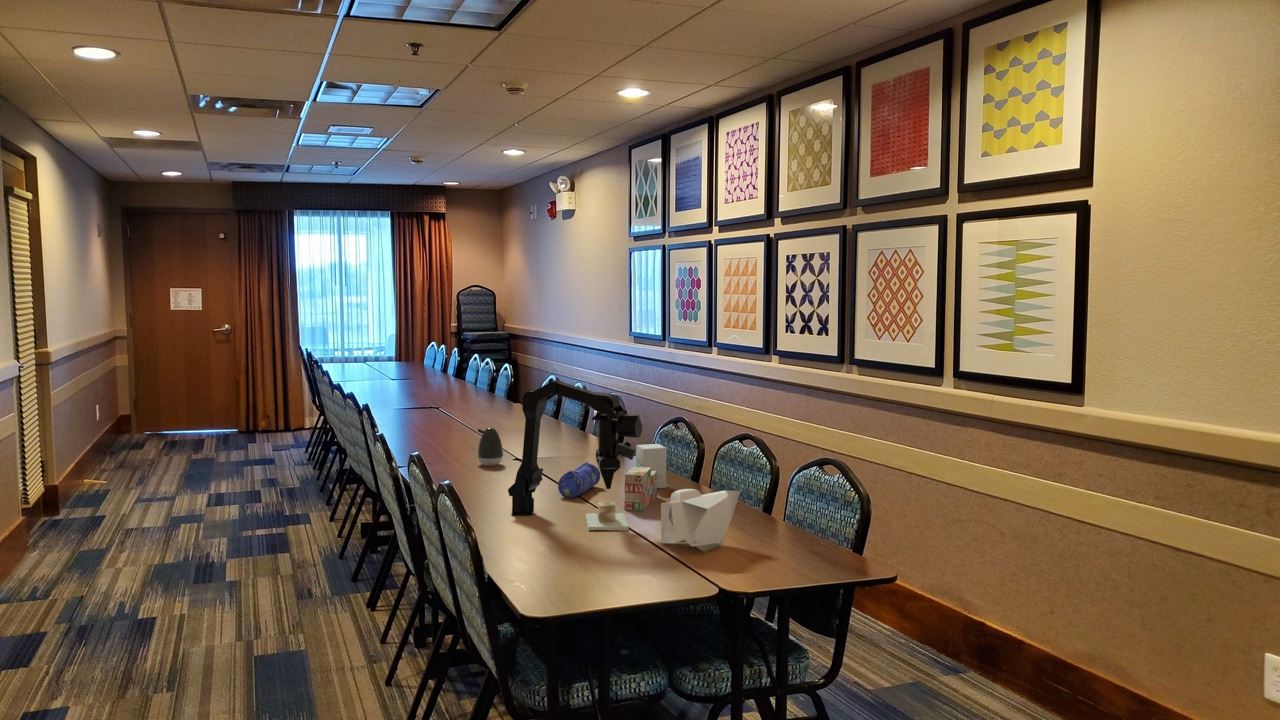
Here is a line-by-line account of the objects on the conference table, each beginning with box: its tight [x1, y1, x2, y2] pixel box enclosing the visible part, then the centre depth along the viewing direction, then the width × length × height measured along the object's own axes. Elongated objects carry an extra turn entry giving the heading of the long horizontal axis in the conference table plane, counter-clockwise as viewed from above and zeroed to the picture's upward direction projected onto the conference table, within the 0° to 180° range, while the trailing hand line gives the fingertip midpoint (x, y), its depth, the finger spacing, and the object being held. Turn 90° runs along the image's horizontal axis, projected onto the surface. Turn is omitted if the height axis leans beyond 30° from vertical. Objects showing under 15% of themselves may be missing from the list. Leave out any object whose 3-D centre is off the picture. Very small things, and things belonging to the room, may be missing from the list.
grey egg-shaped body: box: [477, 427, 504, 467], centre depth 369 cm, size 10×10×15 cm
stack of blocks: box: [623, 466, 658, 512], centre depth 309 cm, size 21×6×12 cm, turn 167°
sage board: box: [585, 512, 629, 531], centre depth 283 cm, size 12×16×1 cm
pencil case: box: [557, 462, 601, 499], centre depth 324 cm, size 22×9×10 cm, turn 163°
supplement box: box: [635, 443, 667, 489], centre depth 335 cm, size 9×9×15 cm
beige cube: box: [597, 501, 616, 522], centre depth 283 cm, size 5×5×5 cm
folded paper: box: [660, 488, 742, 553], centre depth 260 cm, size 17×24×17 cm
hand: (607, 485), depth 282 cm, fingers open, 9 cm apart
